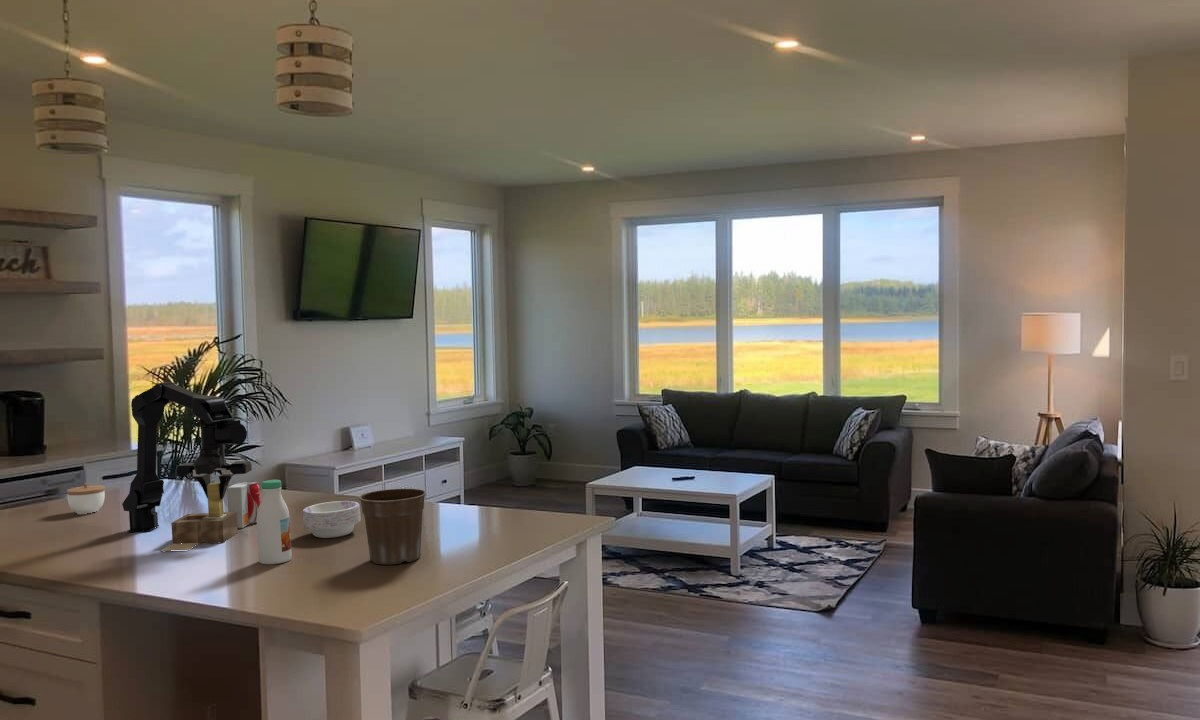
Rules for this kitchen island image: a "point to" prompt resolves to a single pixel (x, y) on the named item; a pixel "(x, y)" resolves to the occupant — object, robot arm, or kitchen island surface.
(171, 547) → the pad
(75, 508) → the lidded jar
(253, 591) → the kitchen island surface
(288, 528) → the milk bottle
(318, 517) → the paper bowls
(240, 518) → the skincare box
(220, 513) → the square wooden peg
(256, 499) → the soda can
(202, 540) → the block
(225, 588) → the kitchen island surface
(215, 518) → the on button
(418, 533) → the plant pot
